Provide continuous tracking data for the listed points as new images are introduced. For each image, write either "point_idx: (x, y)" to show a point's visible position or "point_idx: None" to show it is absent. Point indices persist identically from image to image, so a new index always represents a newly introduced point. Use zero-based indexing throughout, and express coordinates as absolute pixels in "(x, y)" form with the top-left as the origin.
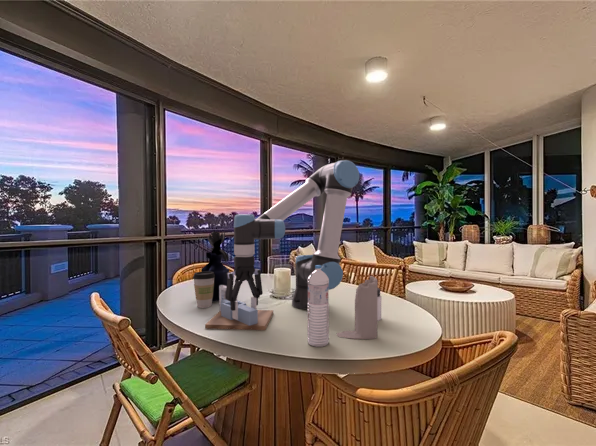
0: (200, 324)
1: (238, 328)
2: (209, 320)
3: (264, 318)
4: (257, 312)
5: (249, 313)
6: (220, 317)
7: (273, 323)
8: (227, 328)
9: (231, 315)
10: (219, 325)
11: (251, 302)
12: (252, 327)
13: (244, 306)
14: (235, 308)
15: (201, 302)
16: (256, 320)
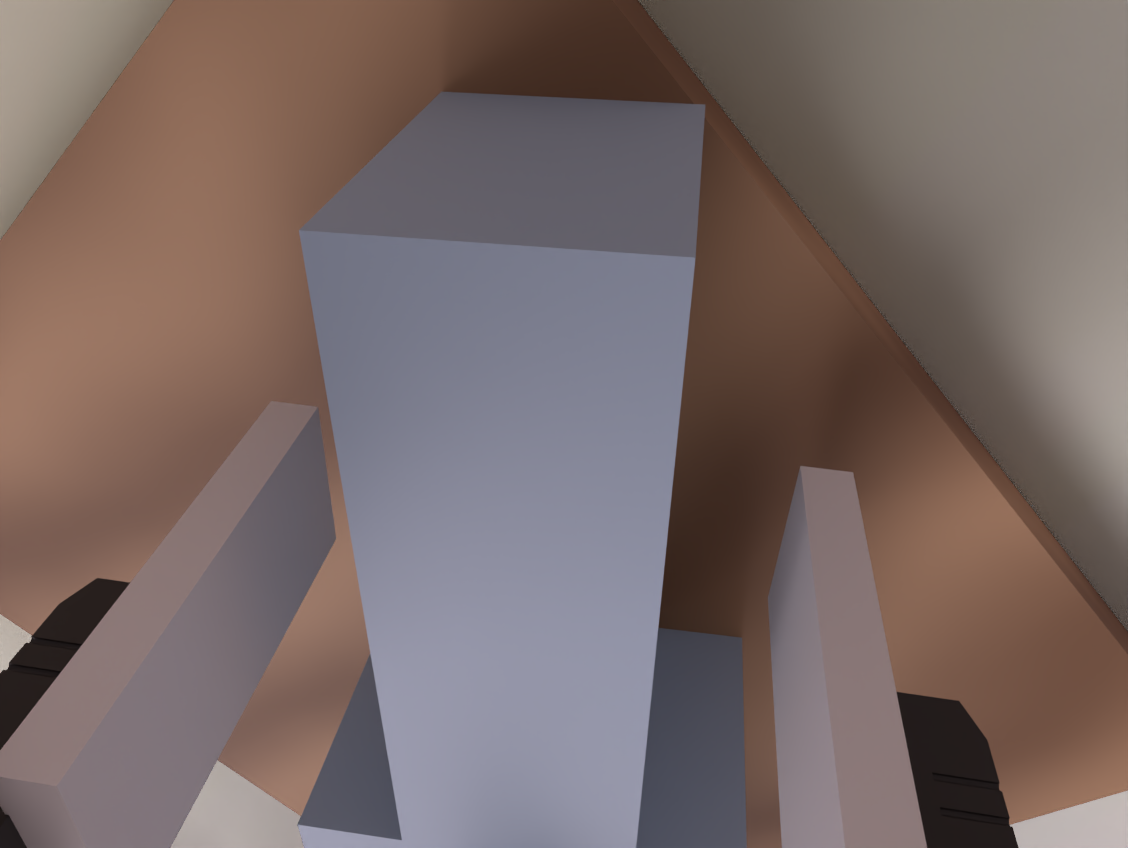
0: (1055, 839)
1: (857, 286)
2: None
3: (142, 255)
4: (342, 193)
5: (693, 227)
6: (769, 807)
7: (34, 18)
8: (985, 449)
9: (722, 704)
10: (1084, 591)
11: (209, 747)
12: (651, 31)
13: (463, 723)
14: (890, 725)
15: None
16: (455, 119)
